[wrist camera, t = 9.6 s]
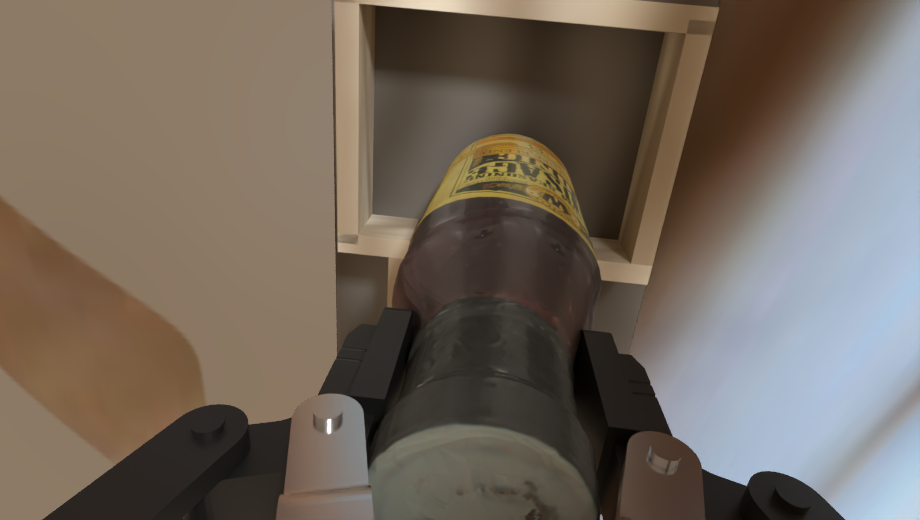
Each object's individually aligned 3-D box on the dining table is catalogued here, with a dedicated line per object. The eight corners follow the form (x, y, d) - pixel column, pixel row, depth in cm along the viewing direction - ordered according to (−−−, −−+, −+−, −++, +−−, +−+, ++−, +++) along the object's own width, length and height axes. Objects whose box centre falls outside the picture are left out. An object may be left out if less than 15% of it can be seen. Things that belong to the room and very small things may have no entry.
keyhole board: (711, -1, 24) (749, -5, 20) (602, 430, 34) (614, 479, 30) (337, -34, 24) (308, -44, 21) (342, 400, 35) (323, 444, 31)
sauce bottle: (593, 172, 26) (805, 518, 8) (520, 267, 28) (552, 700, 10) (482, 96, 25) (433, 296, 7) (415, 201, 27) (246, 558, 9)
